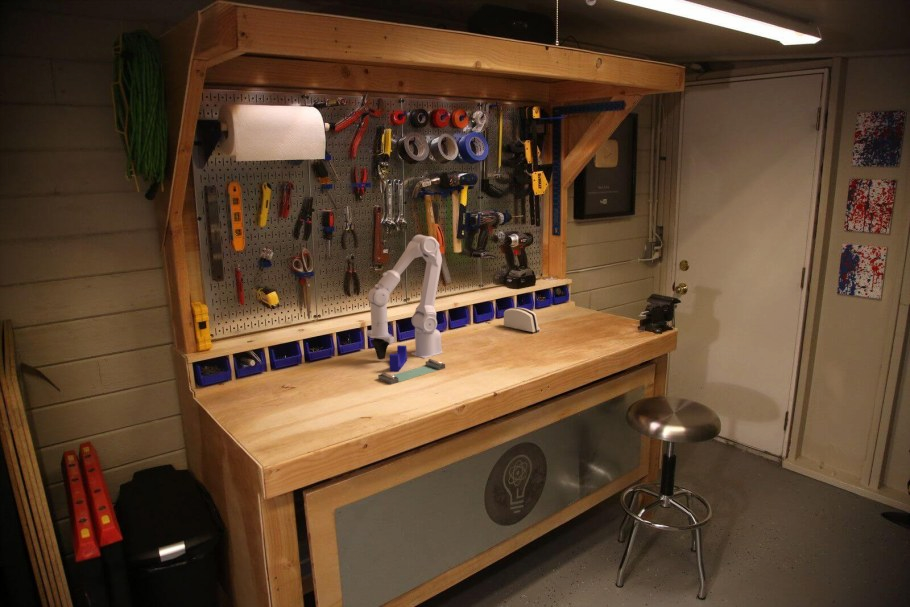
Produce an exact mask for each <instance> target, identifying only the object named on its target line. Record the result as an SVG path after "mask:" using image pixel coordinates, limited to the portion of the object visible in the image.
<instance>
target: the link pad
mask: <svg viewBox="0 0 910 607" xmlns="http://www.w3.org/2000/svg"><path fill="white" fill-rule="evenodd" d="M437 371H438V370H436V369H434V368H431V367H428V366H426V365H423V366H419V367H415V368H413V369H410V370H406V371H402V372H398V373H396V374H391V375H392V376H395V377H397V378H398V383H399V382H400V383H401V382H404V381H407V380H410V379H414V378H417V377H421V376H424V375H426V374H430V373H434V372H437Z"/></svg>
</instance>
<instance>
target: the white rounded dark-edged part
mask: <svg viewBox="0 0 910 607" xmlns="http://www.w3.org/2000/svg"><path fill="white" fill-rule="evenodd" d="M503 326H504V327H507V328H511V329H516V330H521V331H527V332H529V333H530V332H532V333H535V332H537V333H540V332H541V328H540V327H539V324H538V319H537V314H536V313H535V312H534V311H532V310H530V309H528V308H524V307H510V308H508V309H506V310H504V312H503Z"/></svg>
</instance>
